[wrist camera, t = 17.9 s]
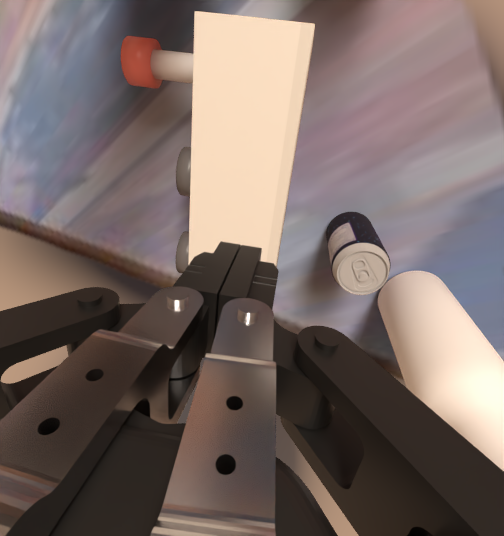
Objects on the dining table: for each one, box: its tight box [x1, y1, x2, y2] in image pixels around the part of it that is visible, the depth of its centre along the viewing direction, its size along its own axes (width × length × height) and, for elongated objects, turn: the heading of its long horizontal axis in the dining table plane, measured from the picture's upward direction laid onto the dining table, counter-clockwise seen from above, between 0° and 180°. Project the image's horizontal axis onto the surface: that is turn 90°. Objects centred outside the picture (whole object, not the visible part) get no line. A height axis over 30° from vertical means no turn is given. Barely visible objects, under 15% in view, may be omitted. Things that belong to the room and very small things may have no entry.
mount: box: [188, 11, 315, 268], centre depth 36 cm, size 9×26×12 cm, turn 174°
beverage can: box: [326, 212, 390, 295], centre depth 37 cm, size 6×6×12 cm
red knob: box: [121, 36, 194, 88], centre depth 31 cm, size 9×4×4 cm, turn 84°
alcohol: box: [378, 271, 504, 471], centre depth 32 cm, size 9×9×30 cm
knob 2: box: [176, 231, 189, 273], centre depth 39 cm, size 9×5×5 cm, turn 84°
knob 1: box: [176, 147, 191, 196], centre depth 35 cm, size 9×5×5 cm, turn 84°
